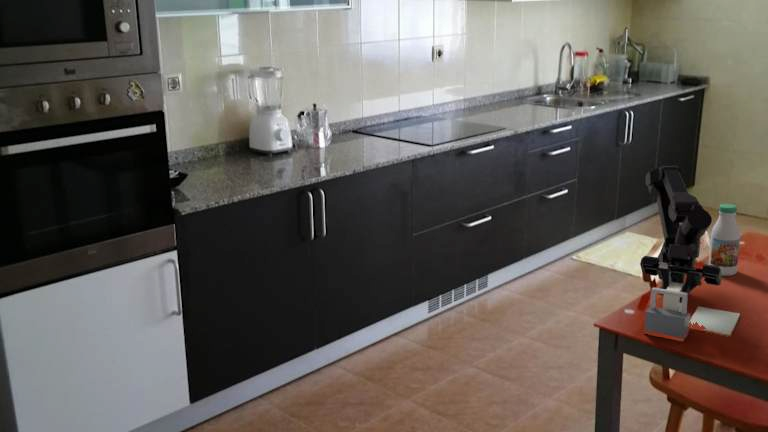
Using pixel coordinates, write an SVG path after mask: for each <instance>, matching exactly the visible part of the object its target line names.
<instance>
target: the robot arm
mask: <svg viewBox="0 0 768 432" xmlns="http://www.w3.org/2000/svg"><path fill="white" fill-rule="evenodd" d="M645 185H646V186H647V188H648V192H649V194H650V195H651V197H653V198H654V199H655V200H656V201H657V207H658V212H659V217H660V223H661V228H662V230H661V231H662V235H663V239H664V241H663V243H662V245H661V246H662V247H661V249H660V251H659V254H658V256H649V255H644V256H642V257H641V258H640V263H639V265H640V268H641V272H642V274H643V275H648V276H652V277H654V276H655V277H657V276H658V279H659V280H661V286H660V287H659V288H660V289H667V288H668V286H669V285H670V284H671V282H674V283H681V284H684V287H683V290H682V292H685V293H688V294H687V296H688V297H689V295H690V293H691V292H692V291H693V290H694V289H695V288H697V286H700V287H701V286H702V283H703V282H702V280H703V278H704V282H705V283H706V284H707V285H712V286H721V283H722V278H723V276H722V274H721V269H720V267H719V266H713V265H708V264H705V263H704V264H703V265H702V268H697V267H695V265H696V264H695V263H696V260H697V259H698V258H699V256H700V251H701V250H700V249H701V243H700V242H701V239H702V237H703V236H704V235H705V234H706V232H707V230H708V229H709V228H710V226H711V225H712V221H713V219H712V216H711V215H710V213H709V212H708V211H707V210H705V208H704V207H703V206H702V204H700V202H699V200H698V198H697V197H696V196H694V195H692V194H690V193H689V192H688V190H687V187H686V185H685V182H684V180H683V178H682V175H681V168H680V167H679V166H678V165H662V166H659V168H656V169H651V170H649V171H648V172H647V173H646V175H645ZM680 223H681V224H680ZM685 275H686V276H685ZM680 303H682V297H680Z"/></svg>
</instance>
